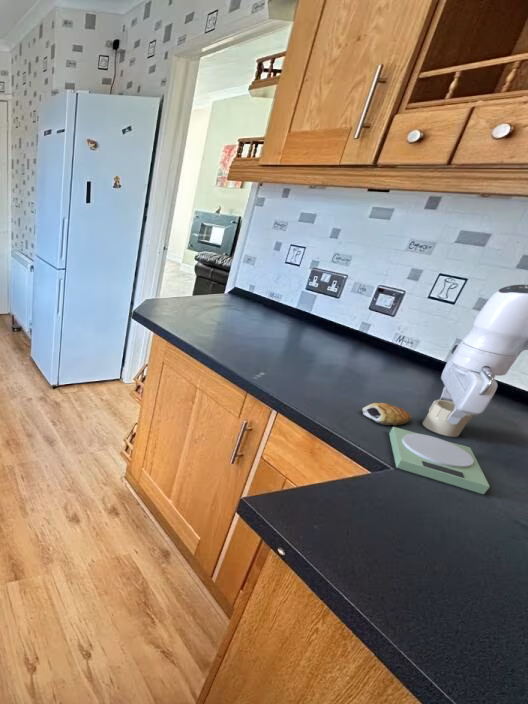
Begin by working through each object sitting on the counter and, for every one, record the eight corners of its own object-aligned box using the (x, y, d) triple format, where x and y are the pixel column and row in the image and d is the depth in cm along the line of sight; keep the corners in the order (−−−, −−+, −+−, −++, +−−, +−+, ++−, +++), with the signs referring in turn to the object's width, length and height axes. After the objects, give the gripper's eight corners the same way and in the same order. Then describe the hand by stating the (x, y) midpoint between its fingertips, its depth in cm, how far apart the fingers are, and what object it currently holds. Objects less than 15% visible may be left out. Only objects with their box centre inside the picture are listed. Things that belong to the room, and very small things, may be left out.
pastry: (392, 411, 104) (399, 398, 102) (416, 426, 98) (425, 413, 96) (357, 412, 103) (364, 399, 101) (380, 427, 97) (388, 413, 95)
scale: (465, 454, 89) (471, 445, 87) (483, 494, 78) (492, 484, 76) (388, 433, 95) (394, 424, 94) (396, 467, 84) (402, 457, 83)
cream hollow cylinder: (456, 427, 98) (470, 405, 96) (463, 440, 93) (478, 418, 91) (419, 417, 102) (431, 396, 99) (424, 430, 97) (437, 408, 94)
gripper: (517, 381, 80) (476, 439, 87) (488, 349, 95) (455, 400, 102) (473, 372, 83) (437, 428, 90) (452, 342, 98) (422, 392, 105)
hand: (446, 413), depth 96 cm, fingers open, 8 cm apart
